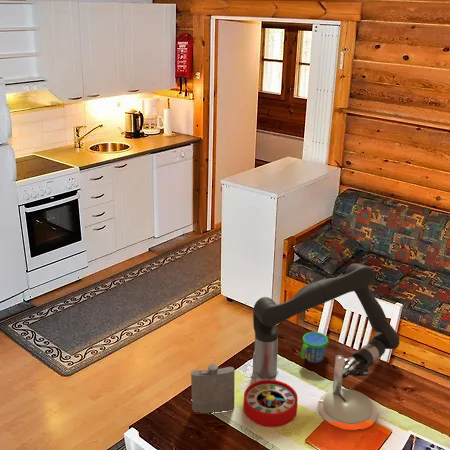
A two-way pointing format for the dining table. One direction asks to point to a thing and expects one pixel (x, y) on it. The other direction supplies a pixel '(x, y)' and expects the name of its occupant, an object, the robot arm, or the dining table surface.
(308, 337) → the snack cup
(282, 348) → the dining table surface
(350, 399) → the beige disc with handle
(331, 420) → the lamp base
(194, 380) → the hip flask
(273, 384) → the toy clock
